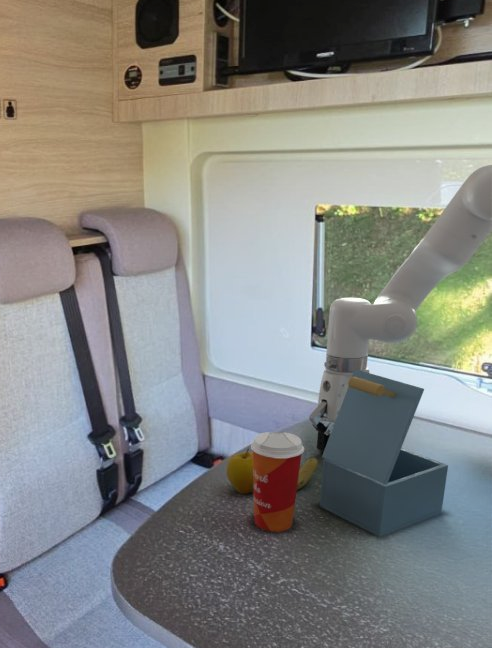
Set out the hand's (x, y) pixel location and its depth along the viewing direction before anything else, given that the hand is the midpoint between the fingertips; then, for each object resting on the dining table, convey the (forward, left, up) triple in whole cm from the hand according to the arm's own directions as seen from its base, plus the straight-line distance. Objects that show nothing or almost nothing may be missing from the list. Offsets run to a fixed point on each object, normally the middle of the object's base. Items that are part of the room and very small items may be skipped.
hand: (339, 445), depth 146 cm
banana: (+18, +8, -1) cm, 20 cm away
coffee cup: (+32, +16, -1) cm, 36 cm away
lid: (+18, +22, +15) cm, 32 cm away
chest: (+14, +22, -1) cm, 26 cm away
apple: (+28, +4, -1) cm, 28 cm away
